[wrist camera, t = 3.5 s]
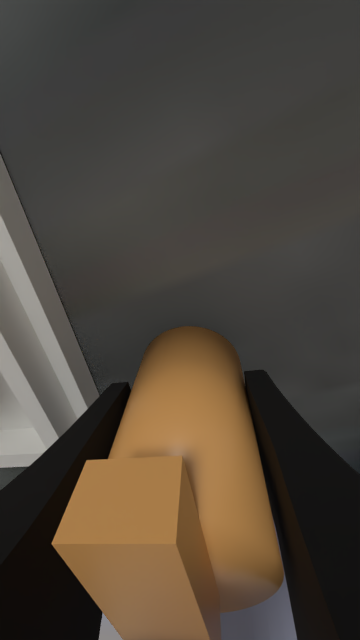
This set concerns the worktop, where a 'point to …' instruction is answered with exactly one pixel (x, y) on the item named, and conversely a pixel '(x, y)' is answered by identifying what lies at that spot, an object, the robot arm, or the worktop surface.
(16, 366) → the housing
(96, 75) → the worktop surface
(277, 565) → the peg
